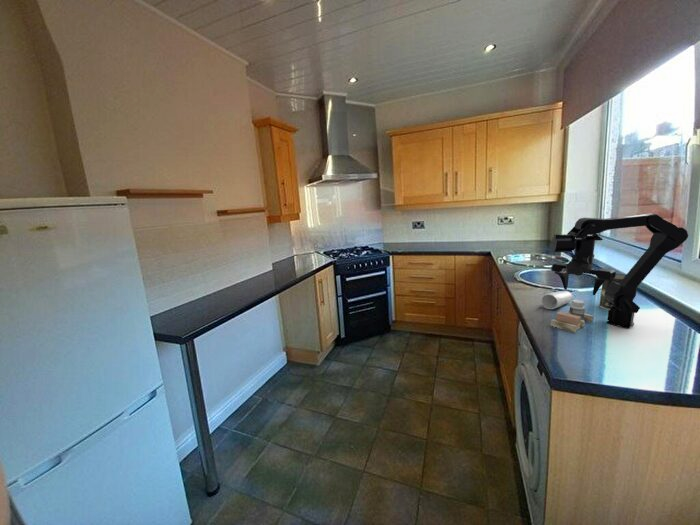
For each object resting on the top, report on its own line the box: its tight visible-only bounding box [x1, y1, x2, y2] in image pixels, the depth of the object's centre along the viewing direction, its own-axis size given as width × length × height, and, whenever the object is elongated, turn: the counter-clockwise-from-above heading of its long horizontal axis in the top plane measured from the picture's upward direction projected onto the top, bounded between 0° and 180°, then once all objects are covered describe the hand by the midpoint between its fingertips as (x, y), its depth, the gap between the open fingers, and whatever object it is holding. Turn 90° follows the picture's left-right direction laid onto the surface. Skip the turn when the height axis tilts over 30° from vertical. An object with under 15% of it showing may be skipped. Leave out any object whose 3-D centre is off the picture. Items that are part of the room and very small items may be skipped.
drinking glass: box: [540, 290, 574, 310], centre depth 135 cm, size 7×7×15 cm
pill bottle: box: [568, 299, 586, 321], centre depth 118 cm, size 5×5×8 cm
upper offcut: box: [555, 311, 581, 325], centre depth 114 cm, size 7×3×2 cm, turn 36°
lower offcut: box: [557, 320, 581, 332], centre depth 114 cm, size 7×3×2 cm, turn 34°
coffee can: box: [598, 273, 626, 311], centre depth 129 cm, size 10×10×14 cm
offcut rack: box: [550, 311, 594, 334], centre depth 117 cm, size 8×16×2 cm, turn 124°
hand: (579, 292), depth 116 cm, fingers open, 9 cm apart
